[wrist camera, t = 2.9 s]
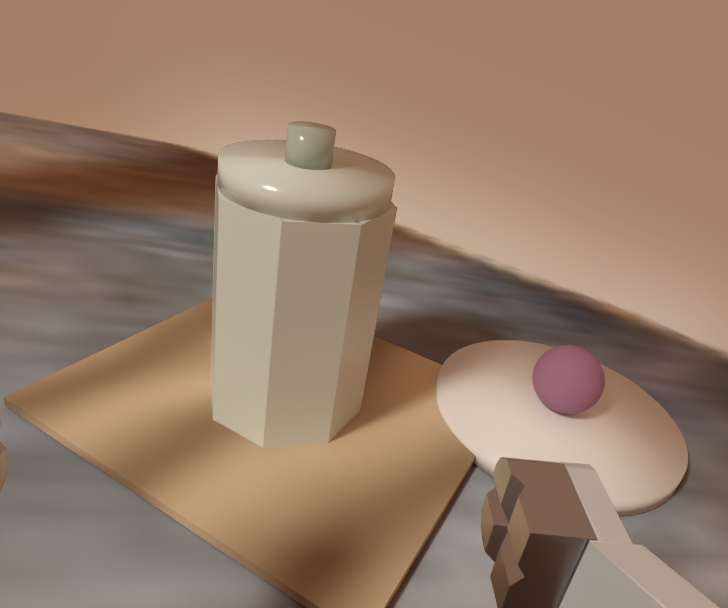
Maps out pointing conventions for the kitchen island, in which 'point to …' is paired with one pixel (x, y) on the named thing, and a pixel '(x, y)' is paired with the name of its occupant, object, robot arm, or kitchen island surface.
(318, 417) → the lidded octagonal canister
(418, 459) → the mat
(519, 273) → the kitchen island surface
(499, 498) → the robot arm
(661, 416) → the saucer
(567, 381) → the ball
